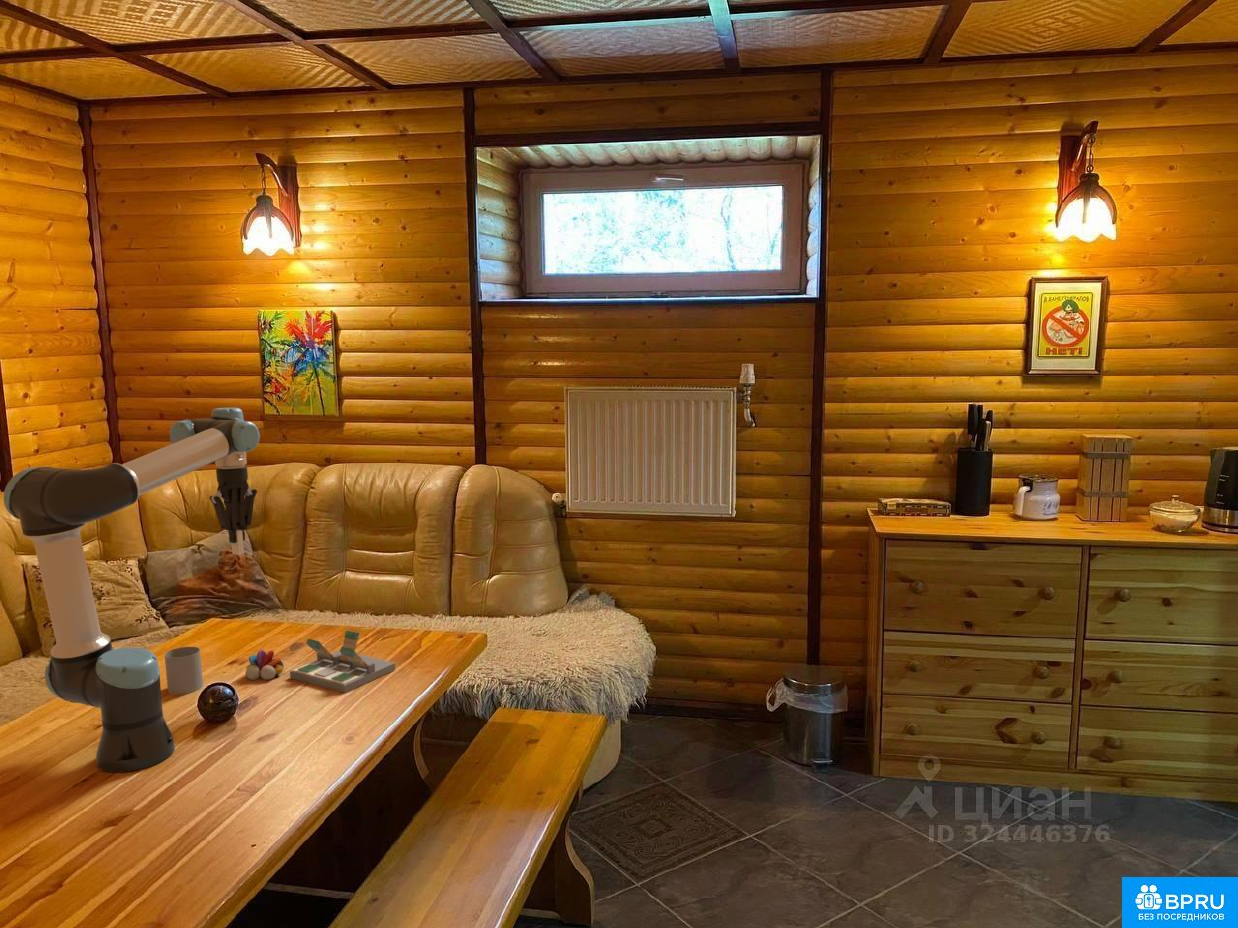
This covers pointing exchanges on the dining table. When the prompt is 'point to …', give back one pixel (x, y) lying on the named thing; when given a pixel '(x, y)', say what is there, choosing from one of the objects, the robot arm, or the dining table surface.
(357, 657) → the lever
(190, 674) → the cup
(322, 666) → the switch board
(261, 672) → the rainbow disc wheeled toy
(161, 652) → the dining table surface
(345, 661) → the lever
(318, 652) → the lever
